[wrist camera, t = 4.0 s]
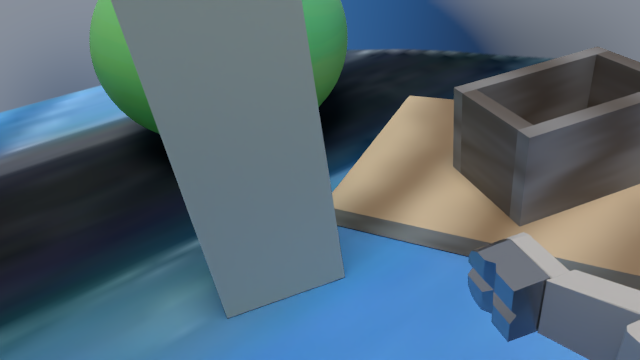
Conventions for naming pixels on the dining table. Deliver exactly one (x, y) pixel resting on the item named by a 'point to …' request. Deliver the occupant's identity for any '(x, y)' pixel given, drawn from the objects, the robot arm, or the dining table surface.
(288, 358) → the dining table surface
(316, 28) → the toy bird
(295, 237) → the tall grey rectangular block
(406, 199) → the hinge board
